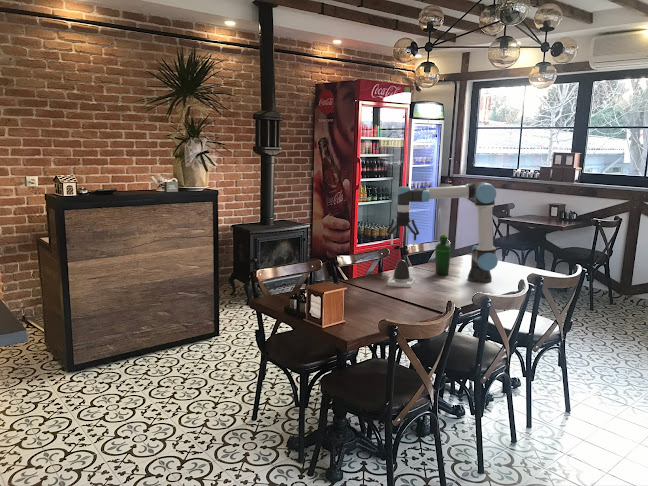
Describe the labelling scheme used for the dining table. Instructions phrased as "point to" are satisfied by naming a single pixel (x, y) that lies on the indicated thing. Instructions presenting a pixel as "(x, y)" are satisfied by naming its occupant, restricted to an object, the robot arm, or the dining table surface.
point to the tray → (408, 284)
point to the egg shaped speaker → (401, 272)
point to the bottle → (442, 256)
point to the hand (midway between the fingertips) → (402, 244)
